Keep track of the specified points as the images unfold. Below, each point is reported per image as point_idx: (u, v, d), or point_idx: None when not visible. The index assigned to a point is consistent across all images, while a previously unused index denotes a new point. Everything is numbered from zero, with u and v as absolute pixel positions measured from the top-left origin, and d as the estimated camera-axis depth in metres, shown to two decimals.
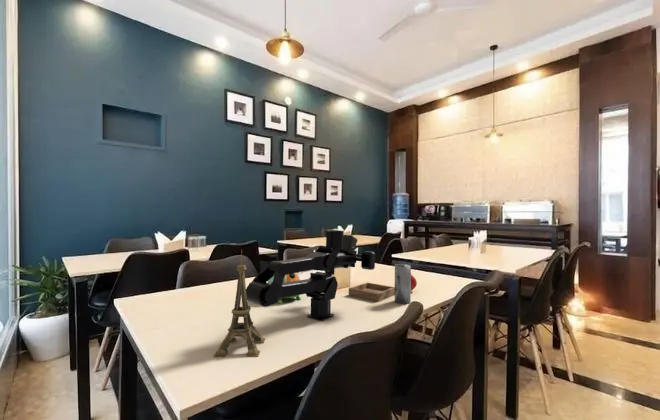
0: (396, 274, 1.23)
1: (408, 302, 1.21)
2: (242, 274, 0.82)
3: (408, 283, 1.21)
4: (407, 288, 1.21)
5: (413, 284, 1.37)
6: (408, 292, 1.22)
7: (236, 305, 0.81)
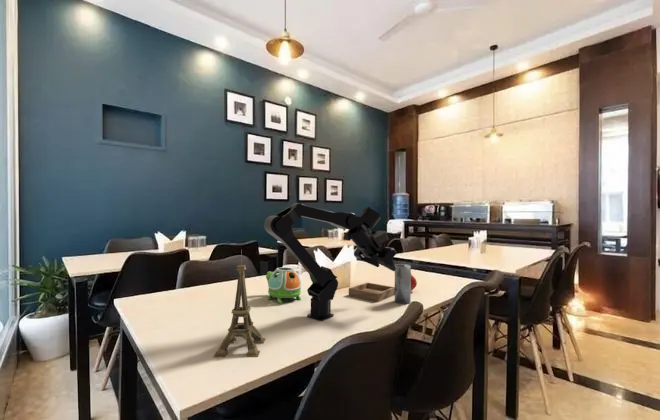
0: (396, 274, 1.23)
1: (408, 302, 1.21)
2: (242, 274, 0.82)
3: (408, 283, 1.21)
4: (407, 288, 1.21)
5: (413, 284, 1.37)
6: (408, 292, 1.22)
7: (236, 305, 0.81)
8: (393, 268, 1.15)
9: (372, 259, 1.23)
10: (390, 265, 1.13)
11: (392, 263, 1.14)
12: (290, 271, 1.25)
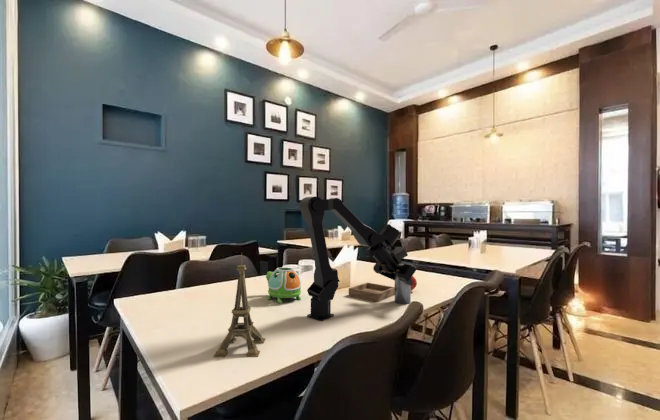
0: (396, 274, 1.23)
1: (408, 302, 1.21)
2: (242, 274, 0.82)
3: None
4: (407, 288, 1.21)
5: (413, 284, 1.37)
6: (408, 292, 1.22)
7: (236, 305, 0.81)
8: (410, 283, 1.20)
9: (393, 274, 1.26)
10: None
11: (409, 278, 1.19)
12: (290, 271, 1.25)
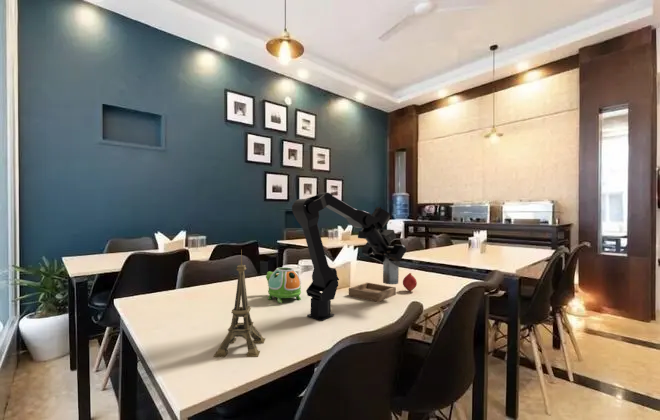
0: (385, 255, 1.27)
1: (397, 282, 1.26)
2: (242, 274, 0.82)
3: None
4: (396, 269, 1.26)
5: (413, 284, 1.37)
6: (397, 272, 1.26)
7: (236, 305, 0.81)
8: (398, 263, 1.25)
9: (381, 256, 1.30)
10: (396, 260, 1.24)
11: None
12: (290, 271, 1.25)
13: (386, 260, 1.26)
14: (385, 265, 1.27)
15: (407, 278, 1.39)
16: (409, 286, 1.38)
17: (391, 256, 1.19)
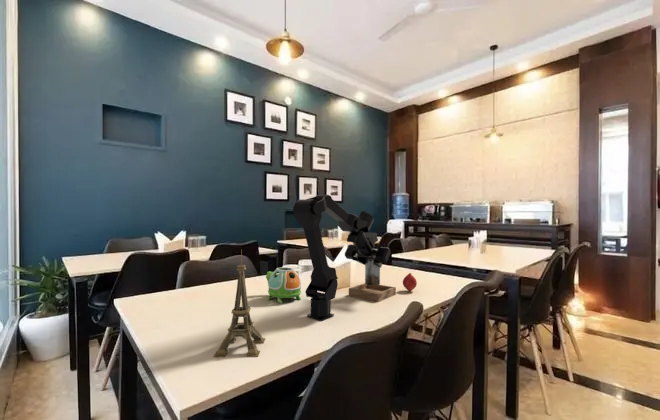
0: (368, 258, 1.31)
1: (379, 283, 1.32)
2: (242, 274, 0.82)
3: None
4: (378, 270, 1.31)
5: (413, 284, 1.37)
6: (379, 273, 1.32)
7: (236, 305, 0.81)
8: (380, 265, 1.31)
9: (363, 259, 1.34)
10: None
11: None
12: (290, 271, 1.25)
13: (369, 262, 1.31)
14: (368, 267, 1.31)
15: (407, 278, 1.39)
16: (409, 286, 1.38)
17: (377, 258, 1.24)
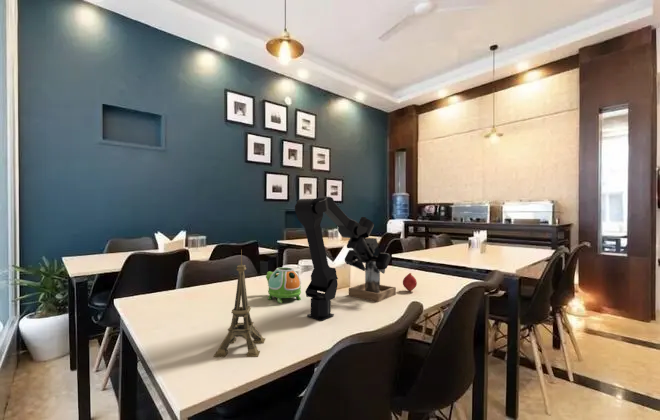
0: (368, 267, 1.31)
1: None
2: (242, 274, 0.82)
3: (379, 274, 1.32)
4: (378, 279, 1.31)
5: (413, 284, 1.37)
6: (379, 283, 1.32)
7: (236, 305, 0.81)
8: (384, 271, 1.30)
9: (360, 264, 1.35)
10: None
11: None
12: (290, 271, 1.25)
13: (369, 271, 1.31)
14: (368, 276, 1.31)
15: (407, 278, 1.39)
16: (409, 286, 1.38)
17: (378, 264, 1.24)
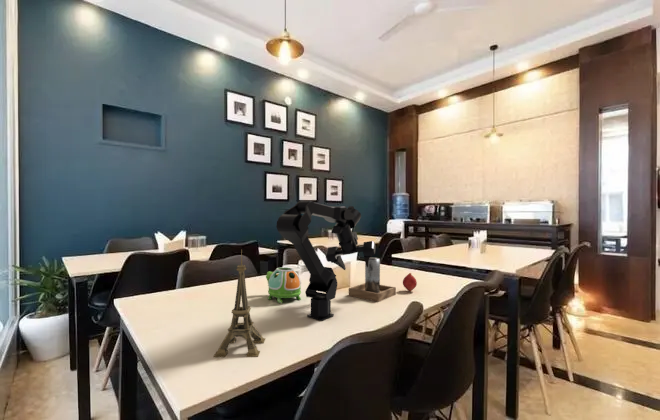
0: (368, 267, 1.31)
1: None
2: (242, 274, 0.82)
3: (379, 275, 1.32)
4: (378, 279, 1.31)
5: (413, 284, 1.37)
6: (379, 283, 1.32)
7: (236, 305, 0.81)
8: None
9: (341, 261, 1.26)
10: None
11: None
12: (290, 271, 1.25)
13: (369, 271, 1.31)
14: (368, 276, 1.31)
15: (407, 278, 1.39)
16: (409, 286, 1.38)
17: (365, 251, 1.18)
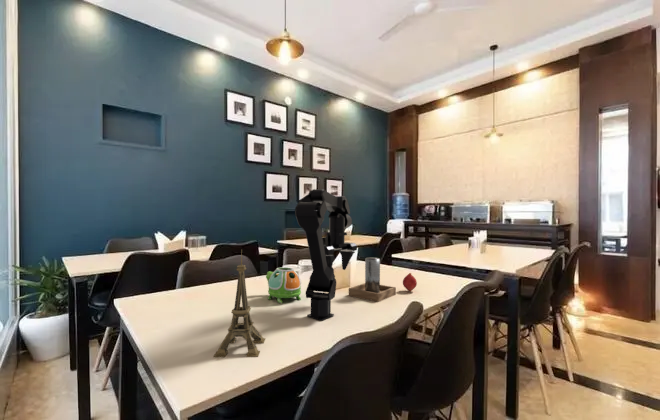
0: (368, 267, 1.31)
1: None
2: (242, 274, 0.82)
3: (379, 275, 1.32)
4: (378, 279, 1.31)
5: (413, 284, 1.37)
6: (379, 283, 1.32)
7: (236, 305, 0.81)
8: None
9: None
10: None
11: None
12: (290, 271, 1.25)
13: (369, 271, 1.31)
14: (368, 276, 1.31)
15: (407, 278, 1.39)
16: (409, 286, 1.38)
17: (353, 245, 1.24)
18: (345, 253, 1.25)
